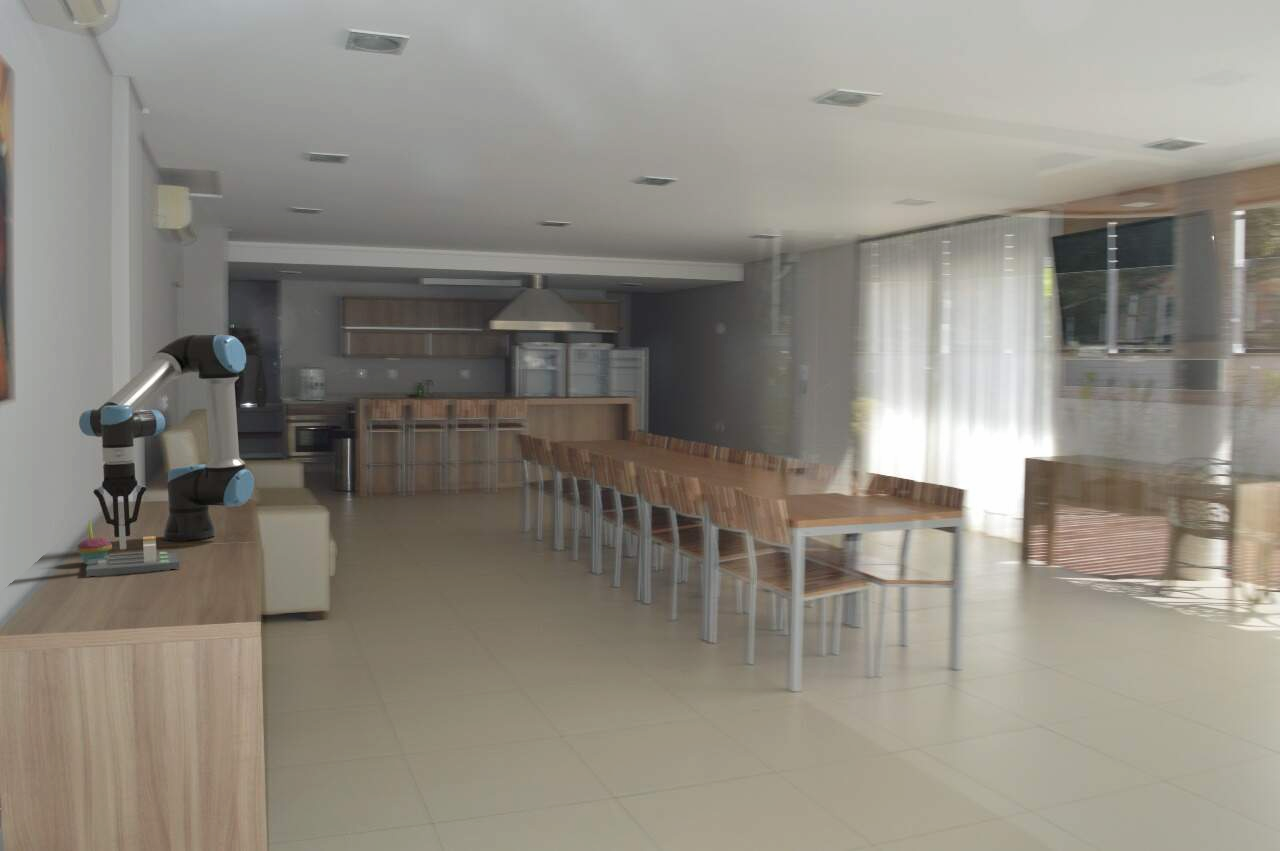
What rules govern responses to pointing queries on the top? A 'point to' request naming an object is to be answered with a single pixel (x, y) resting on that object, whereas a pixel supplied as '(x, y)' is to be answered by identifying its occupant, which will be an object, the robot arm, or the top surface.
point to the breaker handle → (149, 540)
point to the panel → (133, 562)
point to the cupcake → (93, 547)
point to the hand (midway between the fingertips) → (123, 548)
